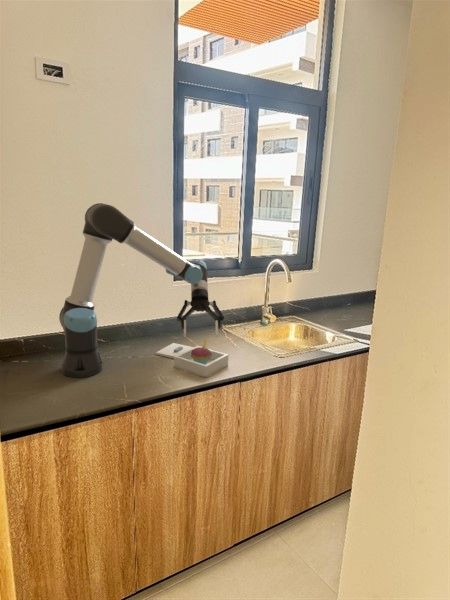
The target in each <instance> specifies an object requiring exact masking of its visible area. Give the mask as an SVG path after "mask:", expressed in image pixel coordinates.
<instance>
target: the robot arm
mask: <svg viewBox="0 0 450 600" xmlns="http://www.w3.org/2000/svg"><path fill="white" fill-rule="evenodd" d="M82 235H83V237H84V239H85V240H84V242H83V246H82V250H81V255H80V258H79V262H78V266H77V268H76V269H77V270H76V273H75V278H74V281H73V286H72V289H71V293H70V295H69V296H67V297H66V298H65V300H64V303H63V306H62V307H61V309H60V311H59V312H60V313H59V317H58V319H59V323H60V326H61V328H62V329H63V332H64V342H65V343H64V344H65V353H64V356H63V357H64V358H63V361H62V364H61V373H62V374H63V375H64V376H66V377H70V378H87V377H88V378H89V377H92V376H95V375H97V374H99V373H101V372H102V371H103V366H104V365H103V360H102V358H101V355H100V353H99V350H98V325H97V324H98V318H97V313H96V312H95V306H96V305H95V303H94V301H93V300H94V294H95V293H96V287H97V283H98V280H99V276H100V272H101V270H102V269H101V268H102V265H103V261H104V257H105V253H106V251H107V246H108V245H109V244H110V243H112V241H113V240H114V241H116V242H118V243H119V244H126V245H128V246H129V247H130V248H132V249H134V250H136V251H137V252H138V253H139V254H140V253H141V254H142V255H143V256H145V257H146V258H148V259H149V260H151V261H153V262H154V263H156V264H158V265H160V267H163V268H164V269H165V273H166V274H168V275H171V276H174V277H177V278H179V279H181V280H183V281H185V282H187V283H188V284H190V292H191V295H190V296H191V298H190V299H191V300H189V301H188V300H187V299H185V300H184V302H183V303H184V304H183V306H182V307H181V309H180V311H179V313H178V315H177V316H176V321H177V322H180V328H181V329H182V330H183V337H184V338H185V337H187V319H188V318H189V317H190V316H191V315H192V314H194V312H202V313H203V312H205V313H207V314H208V315H209V316H210V317H211V318H212V319H213V320H214V321H215V323H214V325H215V337H216V338H217V337H219V335H220V333H219V330H220V329H221V325H222V324H221V322H225V316H224V315H223V313H222V312H221V309H220V307H218V305H217V303H216V302H217V301H216V300H215V299H214V300H213V301H210V300H209V286H208V267H207V264H206V262H205V261H203V260H197V259H196V260H194V261H192V262H190V261H188V260H186V258H184V257H182V256H181V255H179V254H178V253H176V252H175V251H173V250H172V249H171V248H169V247H168V246H166V245H164V243H161V242H160V241H158V239H156V238H154V237H153V236H151V235H149V234H148V233H147V232H145V231H143V230H142V229H140V228H139V227H138V226H136V223H135V222H134V221H133V220H131V219H130V218H129V217H127V215H125V214H124V213H123V212H121V211H120V210H119V209H118V208H117V207H115V206H113V205H112V204H111V205H110V204H106V203H102V202H100V203H99V202H98V203H94V204H92V205H91V206H89V207H88V208H87V210H86V211H85V214H84V226H83V230H82ZM189 306H191V307H190V309H189V310H187V312H186V313H185V311H186V309H187V308H188V307H189ZM210 306H211V307H210ZM212 308H213V310H214V311H215V312H214V311H213V310H212Z"/></svg>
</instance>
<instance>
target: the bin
mask: <svg viewBox="0 0 450 600" xmlns="http://www.w3.org/2000/svg"><path fill="white" fill-rule="evenodd" d="M193 347H194V348H192V349H189V350H187V351H185V352H183V353H180V354H178V355H176V356H174V358H173V368H174V369H177V370H181V371H182V372H186V373H189V374H192V375H195V376H198V377H201V376H202V378H204V377H205V378H204V379H207V378H208V376H209V375H210V376H212V375H214V374H215V372H216V373H217V372H219V371H221V370H223V369H224V368H227V366H229V354H228V353H225V352H221V351H217V350H215V349H210V348H207V349H208V350H210V352H211V353H212V355H211V357H210V359H209V360H208V362H207V364H206V365H205V364H201V363H198V362H195V361H194V359H193V358H192V357H191V351H192V350H193V349H195V348H203V347H204V346H200V345H196V346H193ZM213 373H214V374H213ZM211 374H212V375H211ZM210 376H209V377H210ZM206 377H207V378H206Z"/></svg>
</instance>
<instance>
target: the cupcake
mask: <svg viewBox="0 0 450 600" xmlns="http://www.w3.org/2000/svg"><path fill="white" fill-rule="evenodd" d="M206 343H207V338H205V339H204V343H203V346H202V347H203V348H195V349H193V350H192V351H191V357H192V358H193V359H194V361H195V362H198V363H201V364H205V365H206V364H207V362H208V360H209V359H210V357H211V355H212V353H211V352H210V350H208V349H209V348H207V347H206Z"/></svg>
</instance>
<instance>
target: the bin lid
mask: <svg viewBox="0 0 450 600" xmlns="http://www.w3.org/2000/svg"><path fill="white" fill-rule="evenodd" d="M194 347H195V346H189V345H185V344H179V343H175V342H172V343H171V344H169V345H167V346H165V347H163V348H160V350H158V351H156V354H155V355H157V356H162V357H165V358H166V357H167V358H170V359H174V356H176V355H178V354H180V353H183V352H185V351H187V350H189V349H192V348H194Z"/></svg>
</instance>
